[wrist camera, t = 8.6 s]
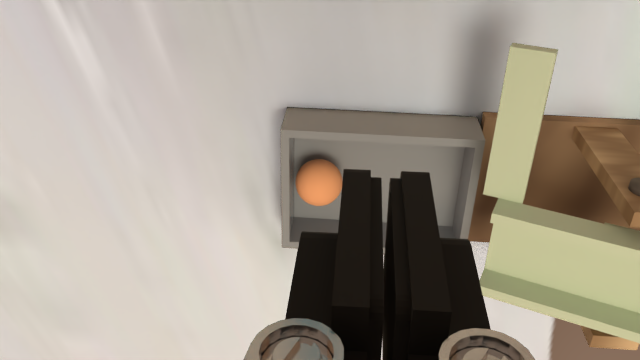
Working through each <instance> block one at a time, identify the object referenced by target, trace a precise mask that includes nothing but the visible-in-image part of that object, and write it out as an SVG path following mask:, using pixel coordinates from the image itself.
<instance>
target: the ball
mask: <svg viewBox="0 0 640 360" xmlns="http://www.w3.org/2000/svg"><path fill="white" fill-rule="evenodd" d="M295 184H296V189H297V192H298V194H299V196H300V197H301V198H302V199H303V200H304V201H305V202H307V203H308V204H311V205H314V206H324V205H327V204H330V203H331V202H333V201H334V200H335V199H336V198H337V197H338V196H339V194H340V192H341V189H342V176H341V173H340V171H339V169H338V168H337V167H336V166H335V165H334V164H333V163H331V162H329V161H327V160H324V159H314V160H311V161H308V162H307V163H305V164H304V165H303V166H302V167H301V168H300V169H299V171H298V173H297V175H296V181H295Z"/></svg>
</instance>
